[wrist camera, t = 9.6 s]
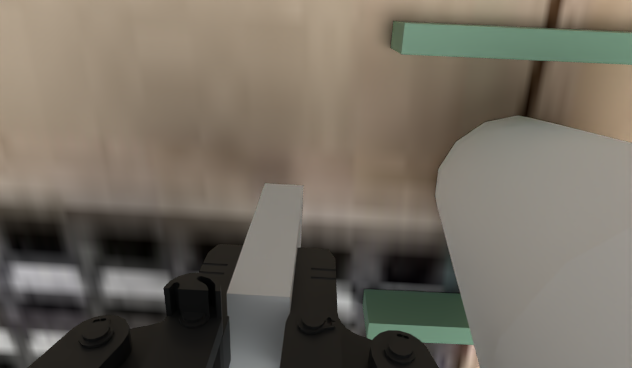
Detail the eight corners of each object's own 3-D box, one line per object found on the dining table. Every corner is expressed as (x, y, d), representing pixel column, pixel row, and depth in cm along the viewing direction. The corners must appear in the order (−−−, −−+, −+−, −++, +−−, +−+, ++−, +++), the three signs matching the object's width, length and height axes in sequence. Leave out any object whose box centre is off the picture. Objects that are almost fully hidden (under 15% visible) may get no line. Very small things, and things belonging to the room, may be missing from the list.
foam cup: (412, 77, 17) (632, 249, 5) (639, 77, 16) (1457, 258, 5) (395, 268, 20) (493, 629, 9) (579, 270, 20) (941, 642, 8)
